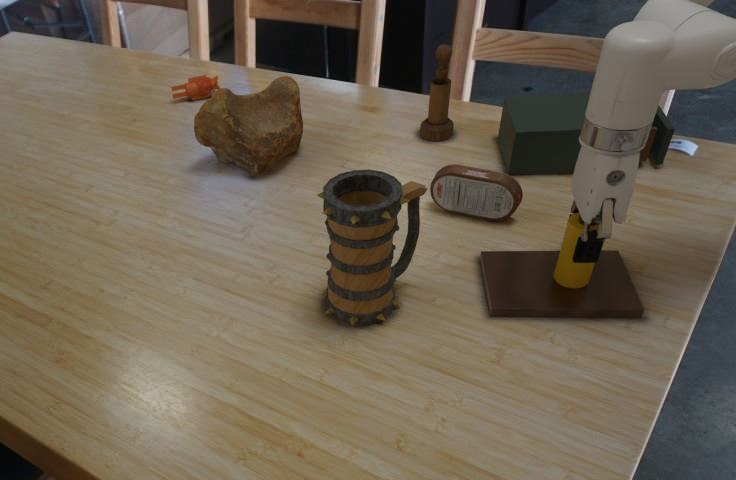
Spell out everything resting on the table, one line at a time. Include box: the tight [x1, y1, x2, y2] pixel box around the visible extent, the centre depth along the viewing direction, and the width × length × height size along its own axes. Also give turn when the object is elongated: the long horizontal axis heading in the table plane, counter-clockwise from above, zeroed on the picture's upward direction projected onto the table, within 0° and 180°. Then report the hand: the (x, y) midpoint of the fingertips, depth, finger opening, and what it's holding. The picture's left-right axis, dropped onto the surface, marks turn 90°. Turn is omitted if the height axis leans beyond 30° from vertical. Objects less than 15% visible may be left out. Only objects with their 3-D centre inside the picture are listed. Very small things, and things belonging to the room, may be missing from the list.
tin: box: [429, 163, 524, 222], centre depth 114 cm, size 15×3×8 cm, turn 58°
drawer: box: [639, 104, 676, 166], centre depth 123 cm, size 15×13×7 cm
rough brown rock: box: [193, 75, 304, 177], centre depth 135 cm, size 23×17×15 cm
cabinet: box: [497, 92, 590, 176], centre depth 125 cm, size 15×15×9 cm
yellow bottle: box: [554, 213, 599, 288], centre depth 96 cm, size 5×5×11 cm
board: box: [479, 249, 645, 319], centre depth 100 cm, size 20×14×2 cm
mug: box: [315, 169, 429, 326], centre depth 97 cm, size 13×17×20 cm
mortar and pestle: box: [419, 43, 455, 142], centre depth 133 cm, size 7×6×18 cm
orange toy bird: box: [170, 74, 221, 101], centre depth 166 cm, size 5×8×12 cm
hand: (580, 248), depth 96 cm, fingers closed on yellow bottle, 4 cm apart
